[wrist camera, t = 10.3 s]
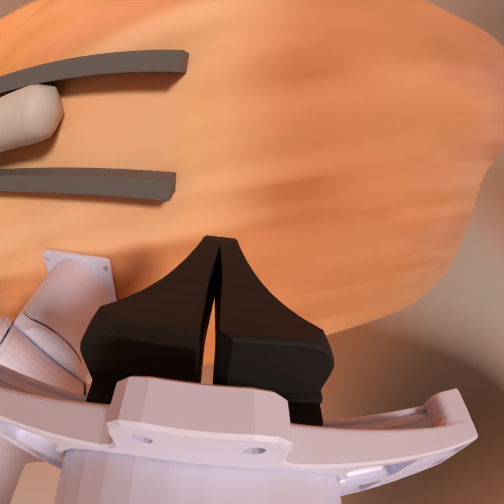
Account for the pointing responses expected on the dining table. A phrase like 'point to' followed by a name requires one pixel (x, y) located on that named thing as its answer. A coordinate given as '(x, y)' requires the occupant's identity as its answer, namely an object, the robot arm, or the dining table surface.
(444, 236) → the dining table surface
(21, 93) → the tube
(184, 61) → the guide rails
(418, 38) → the dining table surface
